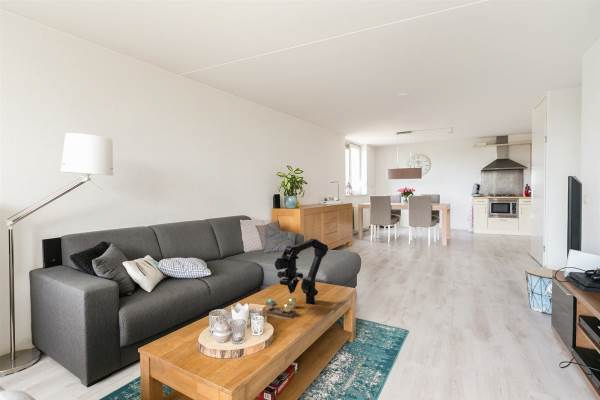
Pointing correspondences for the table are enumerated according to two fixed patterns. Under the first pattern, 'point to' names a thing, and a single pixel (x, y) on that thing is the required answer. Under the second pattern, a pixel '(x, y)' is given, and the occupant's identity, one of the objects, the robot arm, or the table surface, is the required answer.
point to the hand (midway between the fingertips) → (292, 292)
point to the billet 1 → (287, 308)
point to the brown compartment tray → (280, 313)
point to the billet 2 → (292, 302)
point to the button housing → (270, 303)
